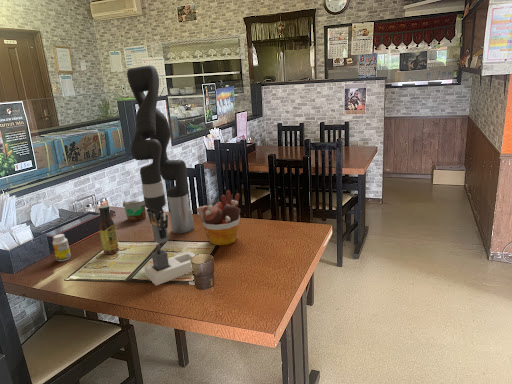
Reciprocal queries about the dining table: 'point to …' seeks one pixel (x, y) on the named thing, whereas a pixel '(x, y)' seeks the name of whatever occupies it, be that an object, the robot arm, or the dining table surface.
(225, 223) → the bucket of meat
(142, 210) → the food container
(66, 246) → the supplement bottle
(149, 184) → the robot arm
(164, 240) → the plug
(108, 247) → the sauce bottle
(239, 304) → the dining table surface
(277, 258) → the dining table surface
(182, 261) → the white rectangular frame
